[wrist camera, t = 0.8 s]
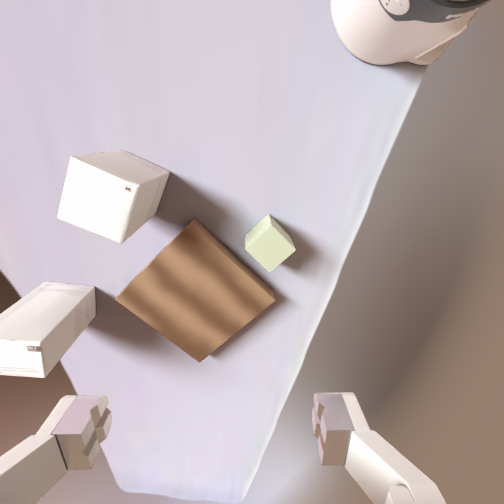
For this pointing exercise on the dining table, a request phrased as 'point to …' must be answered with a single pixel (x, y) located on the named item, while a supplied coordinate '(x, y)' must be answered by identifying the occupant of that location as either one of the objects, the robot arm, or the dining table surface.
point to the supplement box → (111, 193)
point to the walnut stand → (196, 292)
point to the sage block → (269, 243)
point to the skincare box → (43, 327)
